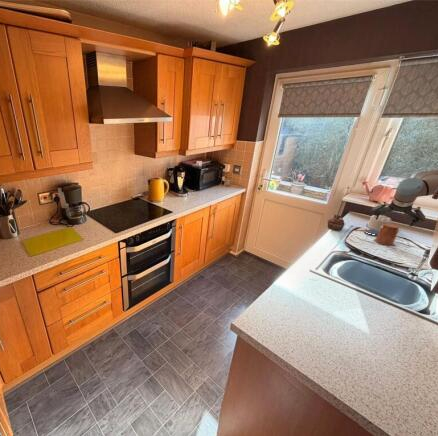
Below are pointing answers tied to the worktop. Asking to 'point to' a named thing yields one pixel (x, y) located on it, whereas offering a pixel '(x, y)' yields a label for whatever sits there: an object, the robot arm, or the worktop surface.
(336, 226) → the cupcake
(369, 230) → the lid
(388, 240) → the jar
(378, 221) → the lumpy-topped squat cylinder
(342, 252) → the worktop surface
